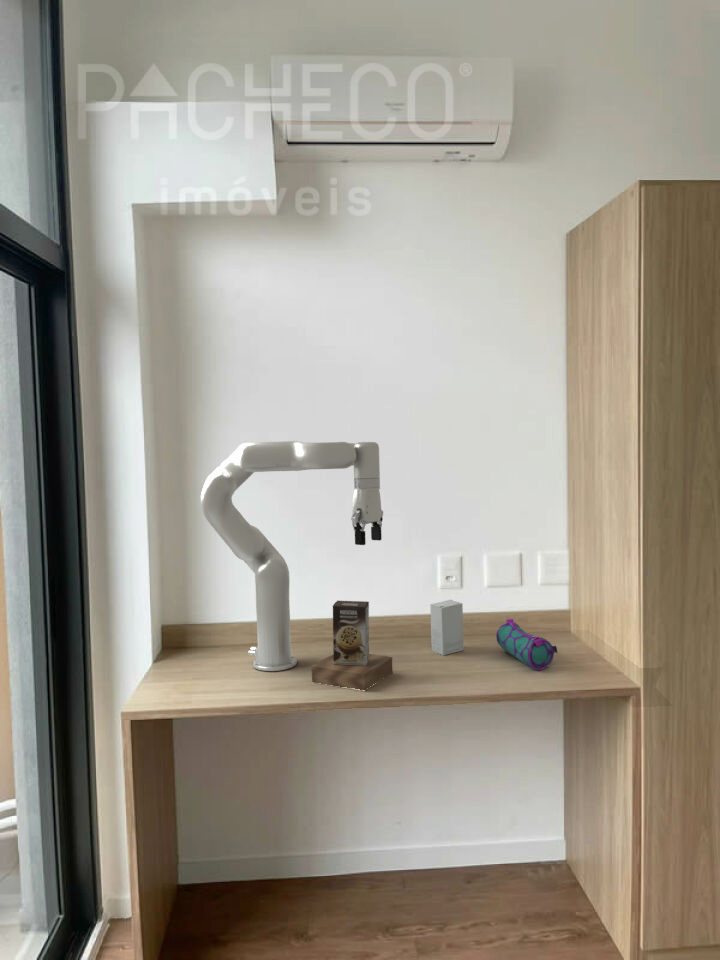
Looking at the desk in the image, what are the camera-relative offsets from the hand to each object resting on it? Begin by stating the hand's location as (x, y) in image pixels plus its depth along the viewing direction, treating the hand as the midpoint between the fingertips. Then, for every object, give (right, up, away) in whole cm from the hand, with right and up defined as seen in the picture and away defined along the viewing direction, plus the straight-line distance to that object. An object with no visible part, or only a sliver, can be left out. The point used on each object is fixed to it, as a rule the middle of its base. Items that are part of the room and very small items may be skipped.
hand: (368, 542), depth 207 cm
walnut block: (-4, -36, -15) cm, 39 cm away
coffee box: (-5, -31, -16) cm, 35 cm away
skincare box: (+24, -34, +6) cm, 42 cm away
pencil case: (+45, -34, -4) cm, 56 cm away
